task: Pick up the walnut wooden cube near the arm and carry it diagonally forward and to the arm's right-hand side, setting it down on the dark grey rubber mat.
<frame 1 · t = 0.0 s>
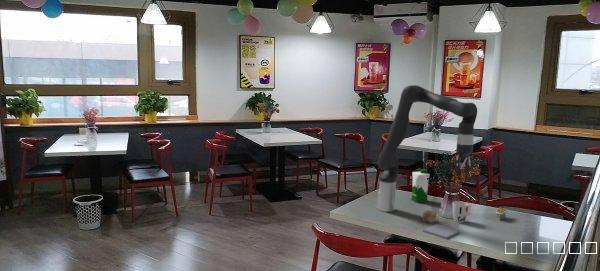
hand: (462, 174, 217), 29 cm above the table, tool pointing down, fingers open, 8 cm apart
walnut cube: (429, 221, 236), on the table
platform: (500, 219, 241), on the table
milk carton: (419, 201, 272), on the table
grey mat: (441, 232, 219), on the table
cup: (459, 221, 236), on the table
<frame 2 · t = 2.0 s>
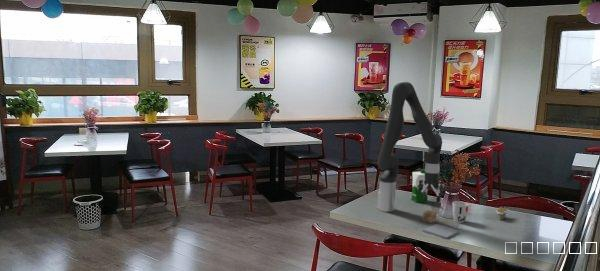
hand: (430, 200, 234), 11 cm above the table, tool pointing down, fingers open, 8 cm apart
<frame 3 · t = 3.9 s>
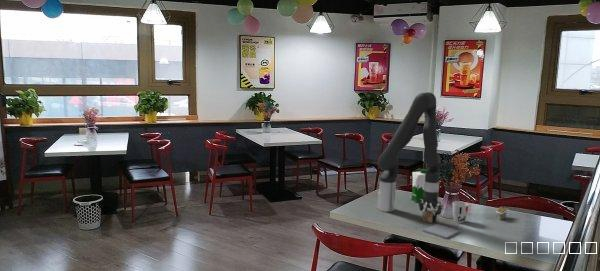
hand: (429, 220, 235), 0 cm above the table, tool pointing down, fingers closed on walnut cube, 5 cm apart
walnut cube: (429, 220, 236), on the table, touching gripper
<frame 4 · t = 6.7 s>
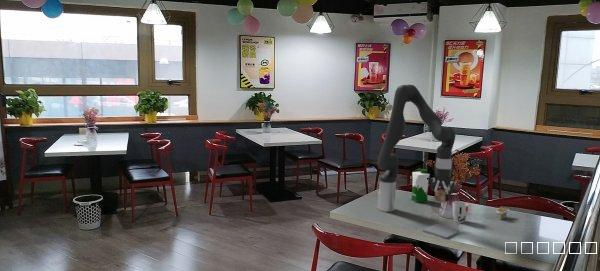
hand: (441, 199, 219), 16 cm above the table, tool pointing down, fingers closed on walnut cube, 5 cm apart
walnut cube: (441, 200, 219), point 16 cm above the table, touching gripper
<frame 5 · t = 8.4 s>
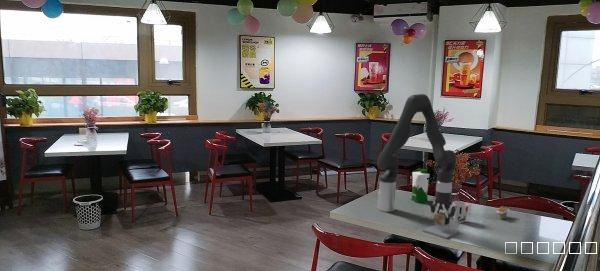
hand: (441, 222, 218), 5 cm above the table, tool pointing down, fingers closed on walnut cube, 5 cm apart
walnut cube: (441, 223, 218), point 5 cm above the table, touching gripper
when the fingers open (3 cm above the table, at t = 9.6 s): walnut cube drops 1 cm, resting on grey mat.
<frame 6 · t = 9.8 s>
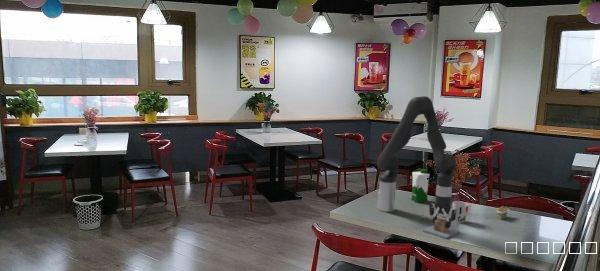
hand: (441, 226, 219), 3 cm above the table, tool pointing down, fingers open, 6 cm apart
walnut cube: (441, 230, 219), point 1 cm above the table, touching grey mat
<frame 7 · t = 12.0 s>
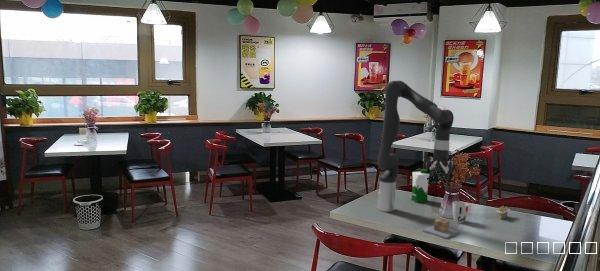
hand: (438, 178, 228), 25 cm above the table, tool pointing down, fingers open, 8 cm apart
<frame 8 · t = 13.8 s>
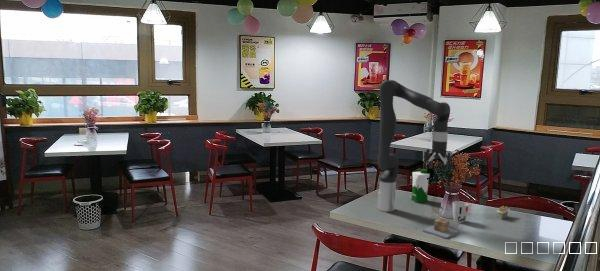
hand: (438, 169, 233), 28 cm above the table, tool pointing down, fingers open, 8 cm apart
at the end: walnut cube inside the target area on the grey mat (0.1 cm from its centre), point 1.0 cm above the grey mat's base; walnut cube tilted 0°; the gripper is holding nothing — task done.
